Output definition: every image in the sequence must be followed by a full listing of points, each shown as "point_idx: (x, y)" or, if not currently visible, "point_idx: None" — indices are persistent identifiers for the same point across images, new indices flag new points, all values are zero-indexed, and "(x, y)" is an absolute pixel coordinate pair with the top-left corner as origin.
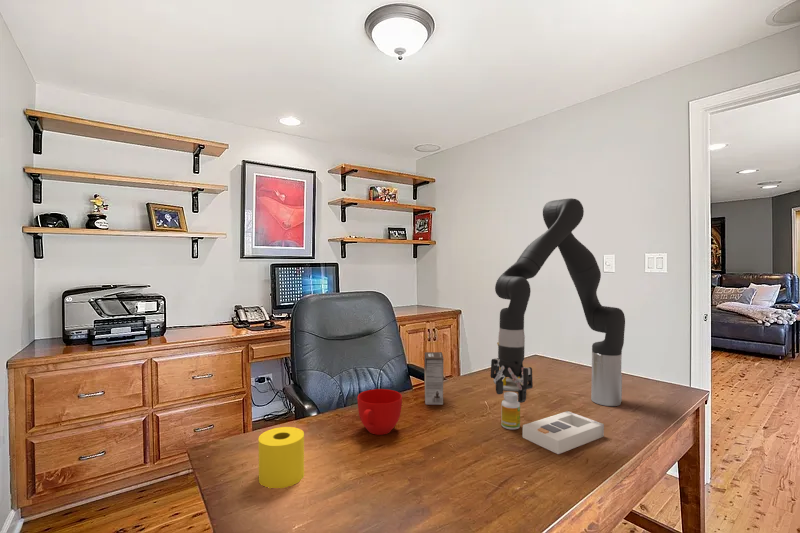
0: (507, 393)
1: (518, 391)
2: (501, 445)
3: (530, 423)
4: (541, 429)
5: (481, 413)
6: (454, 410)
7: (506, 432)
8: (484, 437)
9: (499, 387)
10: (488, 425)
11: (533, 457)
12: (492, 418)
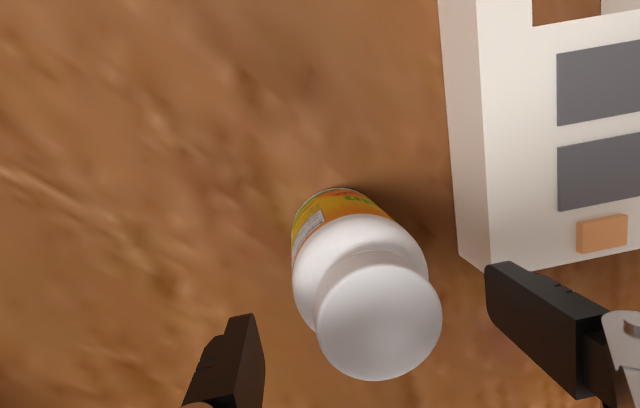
0: (357, 346)
1: (563, 384)
2: (472, 369)
3: (496, 227)
4: (596, 238)
5: (131, 276)
6: (49, 384)
7: None
8: (386, 393)
9: (255, 398)
10: (287, 321)
11: None
12: (215, 259)
